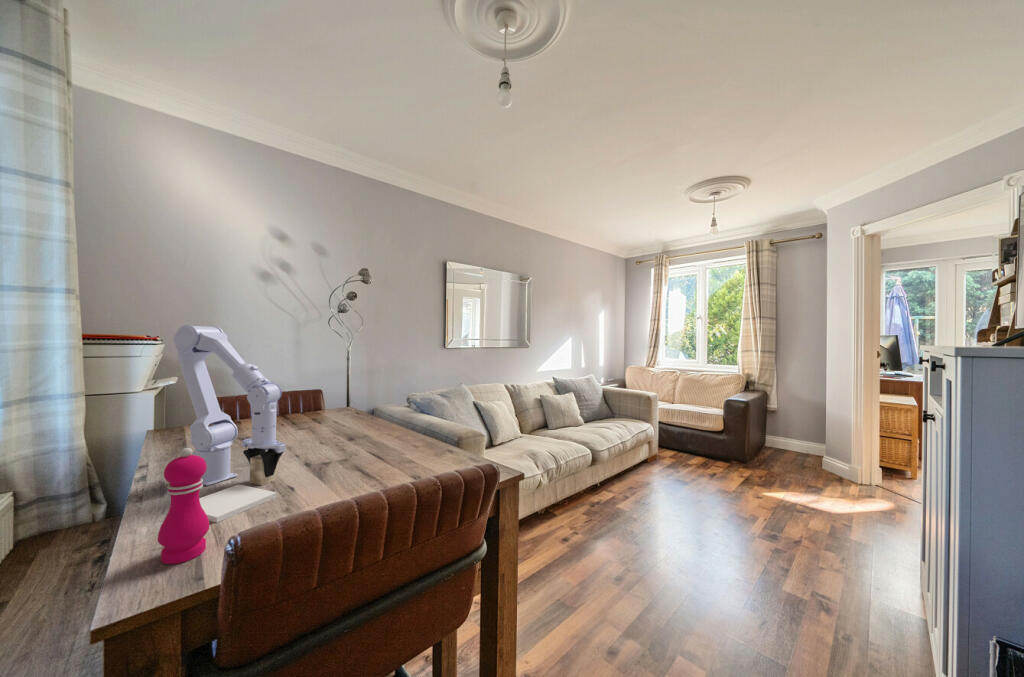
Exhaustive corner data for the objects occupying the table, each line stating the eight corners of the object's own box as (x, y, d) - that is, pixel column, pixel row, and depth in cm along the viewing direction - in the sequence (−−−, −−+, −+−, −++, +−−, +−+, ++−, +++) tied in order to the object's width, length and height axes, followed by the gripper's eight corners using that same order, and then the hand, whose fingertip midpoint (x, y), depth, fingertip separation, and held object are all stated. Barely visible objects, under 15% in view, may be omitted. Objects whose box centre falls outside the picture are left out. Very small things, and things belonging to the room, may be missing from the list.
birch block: (249, 483, 102) (250, 458, 102) (265, 477, 107) (265, 453, 107) (261, 485, 101) (261, 460, 101) (276, 479, 105) (276, 455, 105)
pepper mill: (164, 571, 64) (167, 456, 64) (151, 557, 68) (153, 449, 68) (215, 551, 70) (217, 446, 70) (200, 539, 74) (202, 440, 74)
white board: (176, 511, 85) (176, 506, 85) (238, 488, 98) (238, 484, 98) (216, 522, 81) (217, 517, 81) (276, 497, 94) (276, 492, 94)
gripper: (231, 427, 102) (230, 475, 102) (269, 432, 98) (268, 483, 98) (256, 421, 109) (255, 467, 109) (292, 426, 104) (291, 474, 104)
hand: (263, 474), depth 104 cm, fingers closed on birch block, 4 cm apart
